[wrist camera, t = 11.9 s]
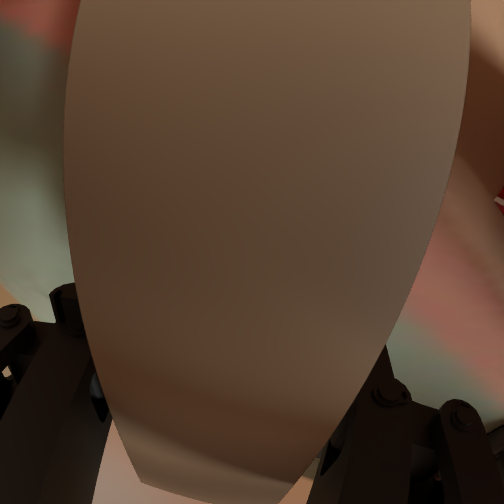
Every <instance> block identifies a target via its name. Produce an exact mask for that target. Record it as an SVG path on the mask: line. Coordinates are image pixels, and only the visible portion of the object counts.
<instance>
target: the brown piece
mask: <svg viewBox="0 0 504 504" xmlns="http://www.w3.org/2000/svg"><path fill="white" fill-rule="evenodd" d="M470 34H471V0H81V1H80V5H79V10H78V14H77V19H76V24H75V29H74V34H73V40H72V46H71V52H70V59H69V66H68V75H67V84H66V95H65V109H64V131H63V172H64V194H65V209H66V220H67V230H68V239H69V247H70V254H71V261H72V268H73V274H74V280H75V285H76V291H77V296H78V301H79V306H80V310H81V315H82V319H83V323H84V328H85V332H86V336H87V340H88V343H89V347H90V351H91V354H92V358H93V361H94V365H95V368H96V371H97V375H98V378H99V381H100V384H101V387H102V390H103V393H104V396H105V399H106V402H107V404H108V407H109V410H110V413H111V415H112V418H113V420H114V423H115V426H116V428H117V430H118V433H119V435H120V438H121V440H122V442H123V445H124V447H125V449H126V452H127V454H128V456H129V458H130V460H131V463H132V465H133V467H134V469H135V471H136V473H137V475H138V477H139V479H140V481H141V482H142V483H144V484H147V485H150V486H153V487H156V488H159V489H162V490H165V491H168V492H171V493H174V494H178V495H181V496H185V497H188V498H192V499H196V500H200V501H204V502H208V503H212V504H278V503H279V502H280V501H281V500H282V499H283V497H284V496H285V495H286V494H287V493H288V492H289V490H290V489H291V488H292V487H293V485H294V484H295V483H296V482H297V481H298V479H299V478H300V477H301V476H302V474H303V473H304V472H305V470H306V469H307V468H308V467H309V465H310V464H311V463H312V461H313V460H314V459H315V457H316V456H317V455H318V453H319V452H320V450H321V449H322V448H323V446H324V445H325V443H326V442H327V441H328V439H329V438H330V436H331V435H332V433H333V432H334V430H335V429H336V427H337V426H338V424H339V423H340V421H341V420H342V418H343V417H344V415H345V414H346V412H347V410H348V409H349V407H350V406H351V404H352V402H353V401H354V399H355V398H356V396H357V394H358V393H359V391H360V389H361V387H362V386H363V384H364V382H365V381H366V379H367V377H368V375H369V374H370V372H371V370H372V368H373V366H374V364H375V363H376V361H377V359H378V357H379V355H380V353H381V351H382V349H383V348H384V346H385V344H386V342H387V340H388V338H389V336H390V334H391V332H392V330H393V327H394V325H395V323H396V321H397V319H398V317H399V315H400V313H401V310H402V308H403V306H404V304H405V301H406V299H407V297H408V295H409V292H410V290H411V288H412V285H413V283H414V280H415V278H416V275H417V273H418V270H419V268H420V265H421V263H422V260H423V257H424V255H425V252H426V249H427V247H428V244H429V241H430V238H431V235H432V232H433V229H434V226H435V223H436V220H437V217H438V214H439V210H440V207H441V204H442V201H443V197H444V194H445V190H446V186H447V183H448V179H449V175H450V171H451V167H452V163H453V159H454V154H455V150H456V145H457V140H458V135H459V130H460V125H461V119H462V113H463V107H464V100H465V93H466V85H467V76H468V66H469V53H470Z"/></svg>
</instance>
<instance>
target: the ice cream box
mask: <svg viewBox="0 0 504 504" xmlns="http://www.w3.org/2000/svg"><path fill="white" fill-rule="evenodd" d="M494 201H495V203H496V204H497V205H498V207H499V208H500V210H501V211H502V213H503V214H504V187H503V188H502V190H501V191H500V193H499V194H498V195H497V197H496V198H495V199H494Z"/></svg>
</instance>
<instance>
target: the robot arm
mask: <svg viewBox="0 0 504 504" xmlns="http://www.w3.org/2000/svg"><path fill="white" fill-rule="evenodd" d="M49 297H50V301H51V305H52V308H53V312H54V316H55V319H56V323H47V322H39V321H33V319H32V316H31V313H30V310H29V309H28V308H27V307H26V306H24V305H21V304H10V305H7V306H4V307H2V308H0V504H92V500H93V495H94V490H95V486H96V481H97V477H98V473H99V468H100V464H101V460H102V456H103V452H104V448H105V444H106V441H107V436H108V433H109V429H110V426H111V422H112V419H113V418H112V415H111V413H110V410H109V407H108V404H107V402H106V399H105V396H104V393H103V390H102V387H101V384H100V381H99V378H98V375H97V371H96V368H95V365H94V361H93V358H92V354H91V351H90V347H89V343H88V340H87V336H86V332H85V328H84V323H83V319H82V315H81V310H80V306H79V301H78V296H77V291H76V285H75V283H69V284H64V285H62V286H60V287H57V288H55V289H54V290H53V291H52V292H51V293H50V294H49ZM7 366H8V368H9V369H10V372H11V375H10V376H8V377H4V375H3V373H2V371H3V370H4V369H5V368H6V367H7ZM320 457H321V458H320ZM316 458H320V462H319V465H318V469H317V472H316V475H315V479H314V482H313V485H312V488H311V491H310V494H309V497H308V500H307V503H306V504H504V426H503V427H501V428H499V429H498V430H496V431H494V432H492V433H490V434H488V435H487V434H486V431H485V428H484V426H483V423H482V421H481V418H480V416H479V414H478V413H477V411H476V409H474V408H473V407H472V406H471V405H470V404H469V403H467V402H465V401H463V400H458V399H452V400H449V401H447V402H446V403H445V404H443V405H442V407H441V408H440V409H439V410H437V409H434V408H431V407H428V406H425V405H422V404H419V403H417V402H414V401H412V398H411V394H410V392H409V390H408V389H407V388H406V386H405V385H404V384H402V383H401V382H400V381H399V380H397V379H395V378H394V375H393V371H392V366H391V362H390V359H389V355H388V351H387V347H386V344H385V346H384V348H383V349H382V351H381V353H380V355H379V357H378V359H377V361H376V363H375V364H374V366H373V368H372V370H371V372H370V374H369V375H368V377H367V379H366V381H365V382H364V384H363V386H362V387H361V389H360V391H359V393H358V394H357V396H356V398H355V399H354V401H353V402H352V404H351V406H350V407H349V409H348V410H347V412H346V414H345V415H344V417H343V418H342V420H341V421H340V423H339V424H338V426H337V427H336V429H335V430H334V432H333V433H332V435H331V436H330V438H329V439H328V441H327V442H326V443H325V445H324V446H323V448H322V449H321V450H320V452H319V453H318V455H317V456H316Z"/></svg>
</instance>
